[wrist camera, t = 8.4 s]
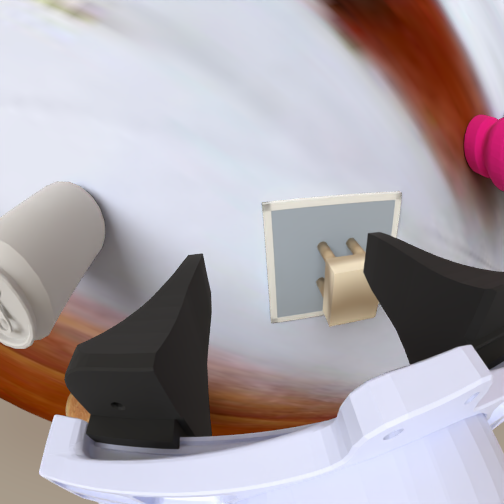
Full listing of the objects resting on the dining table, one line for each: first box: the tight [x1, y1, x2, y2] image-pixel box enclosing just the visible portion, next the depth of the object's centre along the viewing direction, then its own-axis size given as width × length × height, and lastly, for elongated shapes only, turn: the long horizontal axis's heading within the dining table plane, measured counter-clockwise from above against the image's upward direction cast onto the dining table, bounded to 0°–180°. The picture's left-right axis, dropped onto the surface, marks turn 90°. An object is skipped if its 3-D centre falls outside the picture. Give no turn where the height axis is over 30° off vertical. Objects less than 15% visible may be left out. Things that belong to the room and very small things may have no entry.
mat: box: [262, 191, 402, 323], centre depth 25 cm, size 12×12×1 cm
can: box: [0, 182, 105, 349], centre depth 15 cm, size 8×8×12 cm
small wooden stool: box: [316, 238, 379, 327], centre depth 22 cm, size 5×4×5 cm
